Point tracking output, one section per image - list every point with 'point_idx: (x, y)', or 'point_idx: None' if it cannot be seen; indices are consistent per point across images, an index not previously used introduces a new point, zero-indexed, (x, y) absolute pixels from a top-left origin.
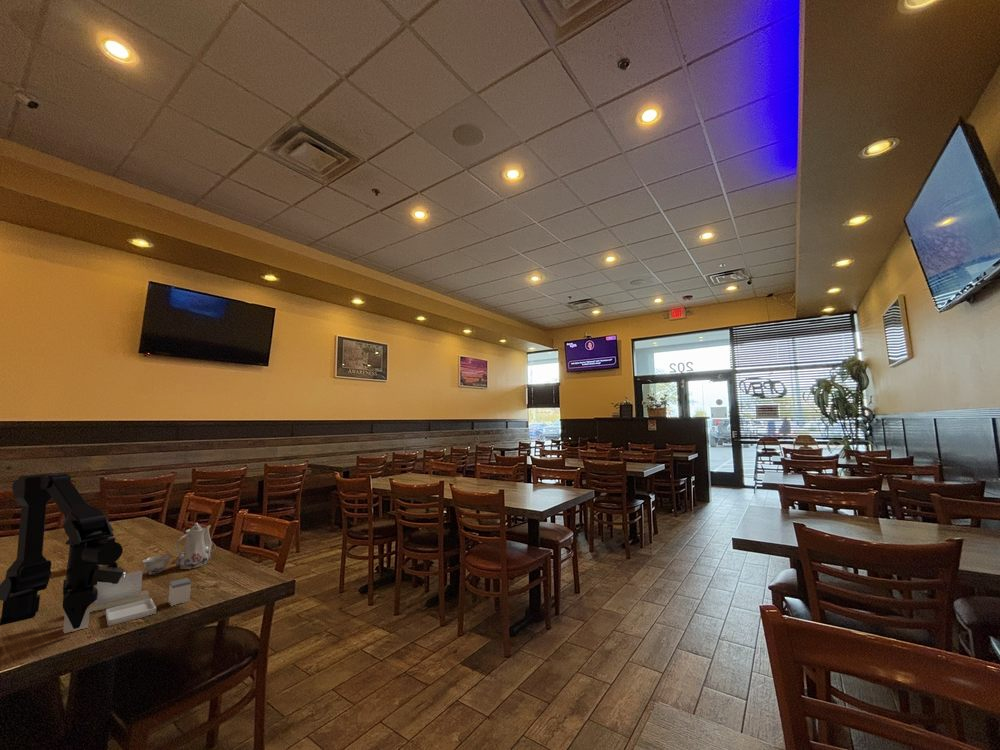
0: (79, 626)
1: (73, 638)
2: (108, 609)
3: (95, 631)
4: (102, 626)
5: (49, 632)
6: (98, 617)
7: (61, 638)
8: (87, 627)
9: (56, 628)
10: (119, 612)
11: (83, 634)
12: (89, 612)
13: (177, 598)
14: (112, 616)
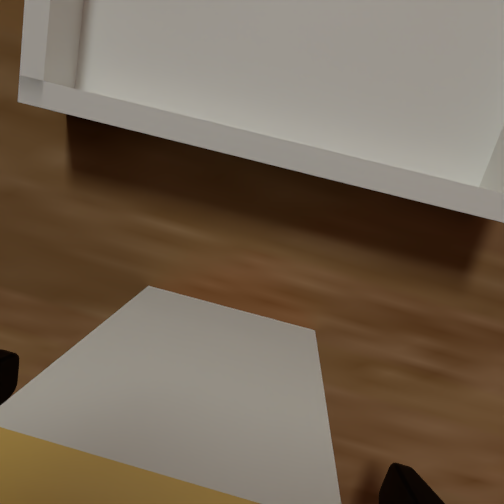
0: (417, 477)
1: (448, 463)
2: (59, 86)
3: (478, 322)
4: (405, 243)
5: None
6: (88, 181)
7: (343, 499)
8: (313, 338)
9: None
10: (185, 1)
11: (439, 397)
12: (329, 451)
13: None
14: (255, 102)
